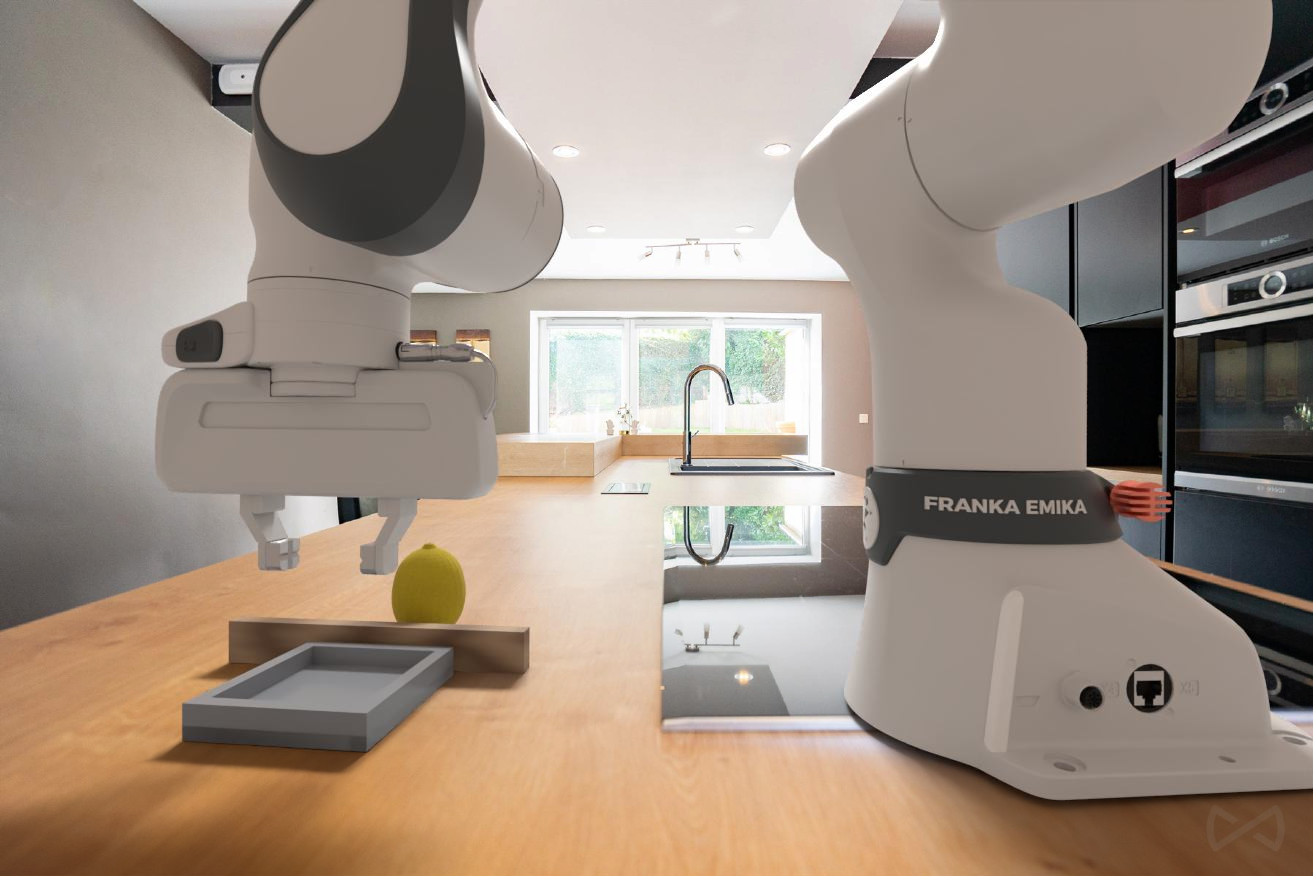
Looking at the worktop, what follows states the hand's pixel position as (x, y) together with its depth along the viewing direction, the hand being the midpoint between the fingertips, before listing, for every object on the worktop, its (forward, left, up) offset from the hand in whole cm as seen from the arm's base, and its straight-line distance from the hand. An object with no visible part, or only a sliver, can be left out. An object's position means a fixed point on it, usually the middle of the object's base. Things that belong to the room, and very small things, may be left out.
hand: (328, 571), depth 39 cm
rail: (+1, -7, -8) cm, 11 cm away
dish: (0, 0, -8) cm, 8 cm away
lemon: (-1, -12, -8) cm, 15 cm away
